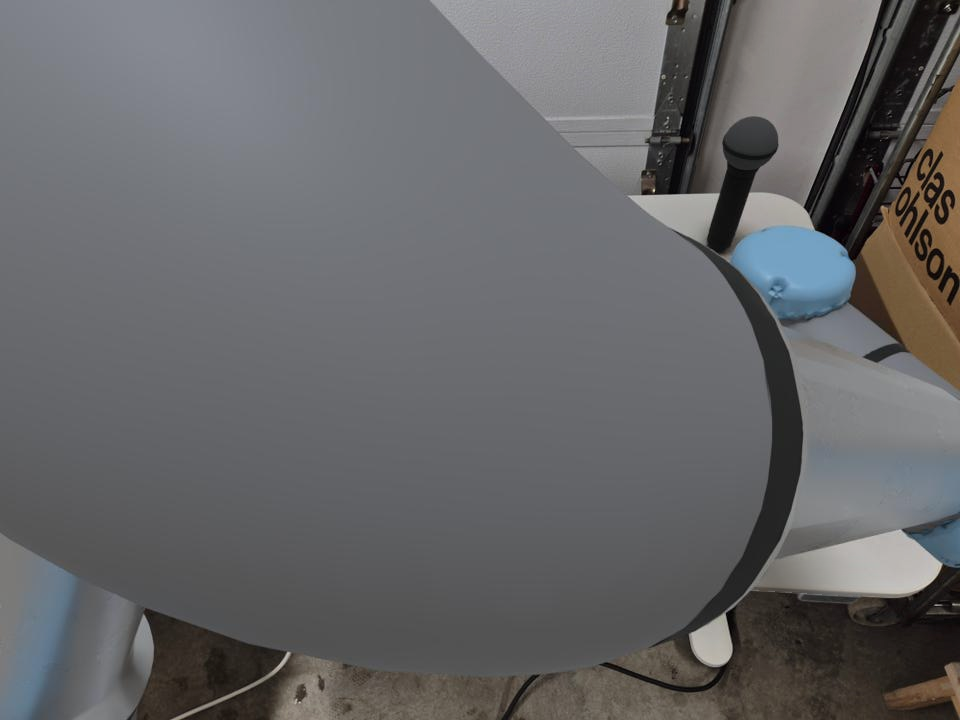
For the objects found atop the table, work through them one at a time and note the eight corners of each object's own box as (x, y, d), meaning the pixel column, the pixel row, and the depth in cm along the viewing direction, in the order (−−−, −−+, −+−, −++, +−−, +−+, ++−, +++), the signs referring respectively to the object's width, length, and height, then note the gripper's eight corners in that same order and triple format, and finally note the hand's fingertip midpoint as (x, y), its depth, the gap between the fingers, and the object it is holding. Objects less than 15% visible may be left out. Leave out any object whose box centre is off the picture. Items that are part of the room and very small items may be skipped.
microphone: (685, 238, 92) (719, 111, 76) (725, 229, 92) (766, 102, 77) (707, 266, 87) (747, 138, 72) (749, 257, 88) (797, 128, 73)
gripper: (569, 426, 54) (393, 306, 65) (675, 316, 62) (502, 225, 73) (575, 373, 48) (381, 252, 59) (691, 259, 56) (500, 170, 67)
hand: (448, 237), depth 66 cm, fingers closed on box, 4 cm apart
